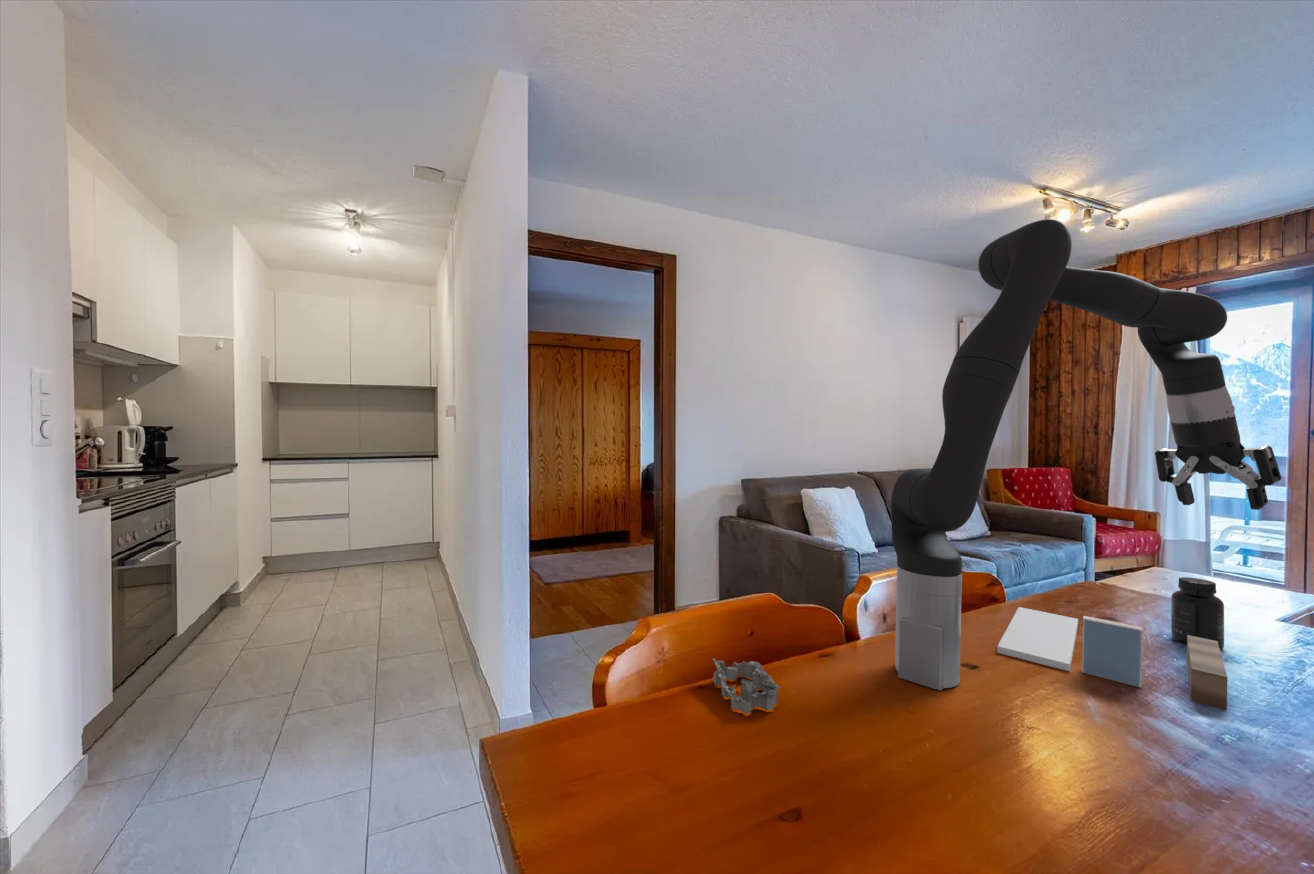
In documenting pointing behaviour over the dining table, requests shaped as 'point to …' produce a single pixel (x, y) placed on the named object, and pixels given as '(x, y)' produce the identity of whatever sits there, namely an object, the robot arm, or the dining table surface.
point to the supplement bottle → (1197, 611)
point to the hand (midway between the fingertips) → (1222, 506)
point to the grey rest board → (1040, 638)
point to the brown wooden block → (1206, 672)
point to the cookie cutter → (747, 685)
